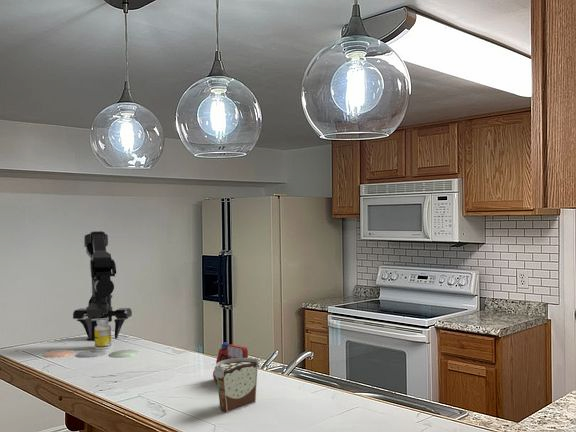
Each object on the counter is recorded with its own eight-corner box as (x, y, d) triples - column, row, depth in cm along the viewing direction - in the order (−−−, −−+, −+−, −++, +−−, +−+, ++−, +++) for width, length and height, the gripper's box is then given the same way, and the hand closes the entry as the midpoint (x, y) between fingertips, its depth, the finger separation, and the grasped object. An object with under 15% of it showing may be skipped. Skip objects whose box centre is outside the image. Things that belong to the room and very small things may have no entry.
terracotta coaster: (51, 352, 199) (51, 350, 199) (77, 352, 198) (77, 349, 198) (38, 358, 190) (38, 356, 190) (65, 358, 189) (65, 356, 189)
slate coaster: (83, 352, 198) (83, 350, 198) (110, 352, 198) (109, 350, 198) (71, 358, 189) (71, 356, 189) (99, 358, 189) (99, 356, 189)
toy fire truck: (229, 376, 163) (229, 338, 163) (257, 385, 153) (256, 344, 153) (208, 381, 158) (207, 342, 158) (235, 390, 149) (234, 349, 149)
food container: (240, 396, 143) (240, 355, 143) (259, 401, 139) (259, 358, 140) (202, 409, 134) (202, 365, 134) (222, 414, 130) (221, 369, 130)
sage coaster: (115, 352, 197) (115, 350, 197) (142, 352, 197) (142, 350, 197) (105, 358, 188) (105, 356, 188) (133, 358, 188) (133, 356, 188)
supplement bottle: (94, 347, 205) (94, 318, 205) (111, 345, 207) (110, 317, 207) (94, 350, 200) (94, 320, 200) (111, 348, 202) (111, 319, 202)
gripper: (65, 296, 196) (66, 343, 196) (120, 295, 195) (121, 343, 195) (79, 292, 207) (80, 337, 207) (131, 291, 206) (132, 336, 206)
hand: (102, 338), depth 203 cm, fingers open, 9 cm apart
